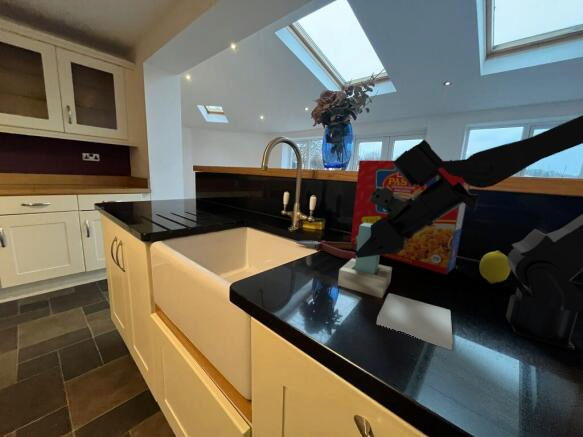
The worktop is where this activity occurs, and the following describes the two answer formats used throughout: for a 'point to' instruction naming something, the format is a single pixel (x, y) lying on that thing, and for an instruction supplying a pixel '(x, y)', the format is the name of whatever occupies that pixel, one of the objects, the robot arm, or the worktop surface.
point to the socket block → (365, 279)
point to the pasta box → (427, 242)
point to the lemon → (494, 267)
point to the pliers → (333, 248)
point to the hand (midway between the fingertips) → (361, 250)
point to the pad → (417, 320)
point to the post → (369, 262)
